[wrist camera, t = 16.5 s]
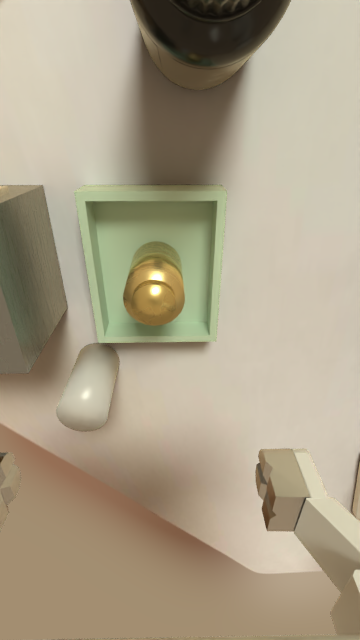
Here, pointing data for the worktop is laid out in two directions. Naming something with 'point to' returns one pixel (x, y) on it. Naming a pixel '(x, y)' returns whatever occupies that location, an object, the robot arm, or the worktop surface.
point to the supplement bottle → (205, 36)
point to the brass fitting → (154, 285)
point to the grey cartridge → (89, 389)
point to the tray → (147, 226)
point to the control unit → (27, 277)
